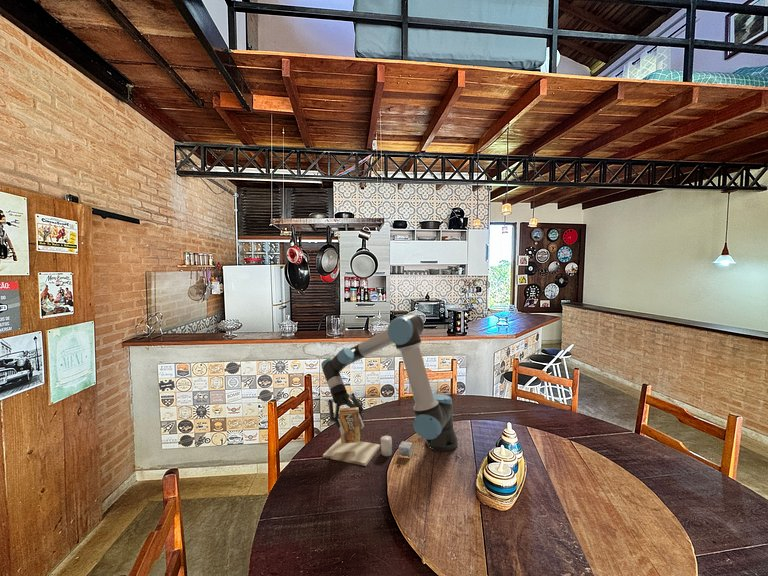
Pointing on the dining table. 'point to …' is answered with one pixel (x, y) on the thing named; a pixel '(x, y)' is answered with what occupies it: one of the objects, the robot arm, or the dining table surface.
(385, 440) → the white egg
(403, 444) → the metal block
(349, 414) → the candy box
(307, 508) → the dining table surface
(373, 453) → the birch board
